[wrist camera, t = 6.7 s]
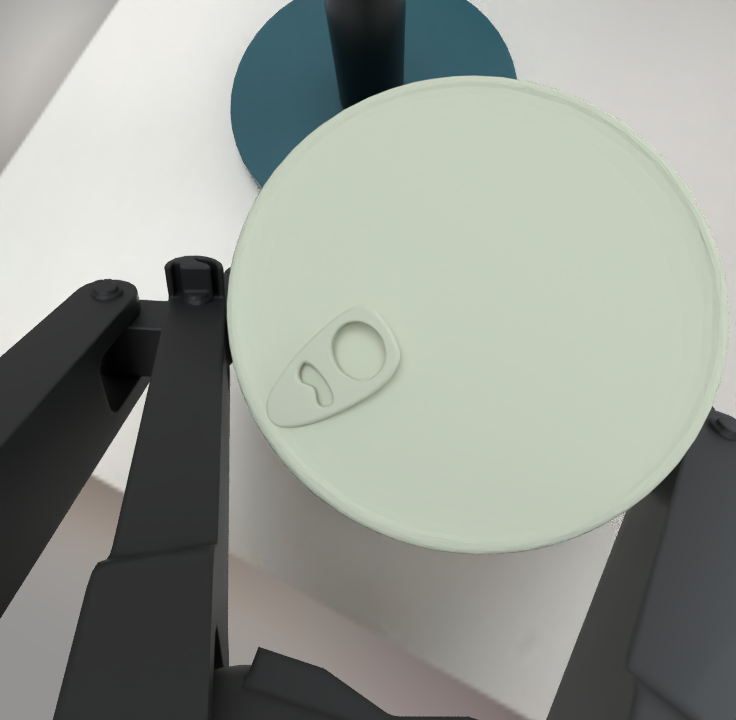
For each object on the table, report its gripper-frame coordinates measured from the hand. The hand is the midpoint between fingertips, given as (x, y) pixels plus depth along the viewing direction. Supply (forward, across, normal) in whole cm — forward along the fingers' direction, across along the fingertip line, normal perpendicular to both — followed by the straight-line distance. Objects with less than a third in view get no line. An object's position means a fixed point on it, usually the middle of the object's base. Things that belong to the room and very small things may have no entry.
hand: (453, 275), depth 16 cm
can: (+1, 0, -5) cm, 5 cm away
